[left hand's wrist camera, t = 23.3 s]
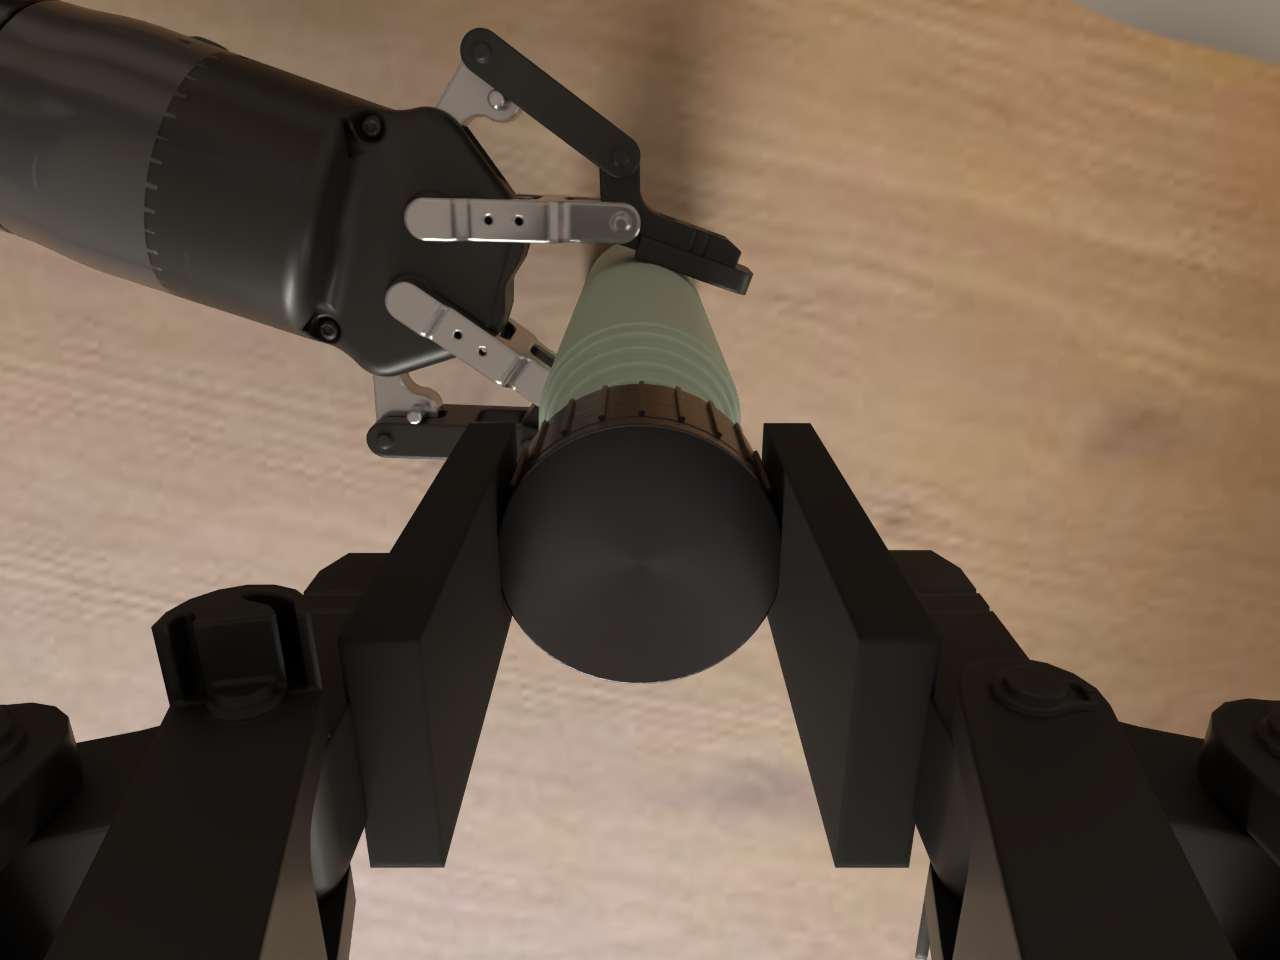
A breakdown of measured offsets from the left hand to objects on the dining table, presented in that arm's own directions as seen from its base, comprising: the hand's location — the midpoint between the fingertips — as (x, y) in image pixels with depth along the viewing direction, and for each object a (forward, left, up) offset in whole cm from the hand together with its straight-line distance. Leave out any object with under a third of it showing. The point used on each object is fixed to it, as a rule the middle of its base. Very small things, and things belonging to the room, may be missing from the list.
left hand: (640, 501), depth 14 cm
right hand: (-3, 0, -15) cm, 15 cm away
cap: (0, 0, +2) cm, 2 cm away
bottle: (0, 0, -21) cm, 21 cm away
